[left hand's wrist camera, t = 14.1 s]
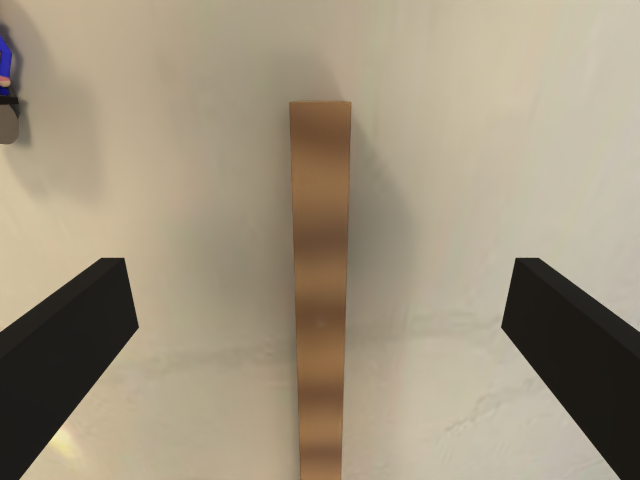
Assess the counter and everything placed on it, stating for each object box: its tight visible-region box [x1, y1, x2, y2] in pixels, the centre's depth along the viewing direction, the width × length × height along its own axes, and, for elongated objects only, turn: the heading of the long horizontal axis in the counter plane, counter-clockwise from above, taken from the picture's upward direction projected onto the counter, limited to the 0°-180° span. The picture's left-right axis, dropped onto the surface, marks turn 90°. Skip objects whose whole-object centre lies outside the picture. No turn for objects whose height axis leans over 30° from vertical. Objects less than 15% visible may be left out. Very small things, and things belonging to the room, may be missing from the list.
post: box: [290, 101, 351, 480], centre depth 42 cm, size 57×5×8 cm, turn 0°
